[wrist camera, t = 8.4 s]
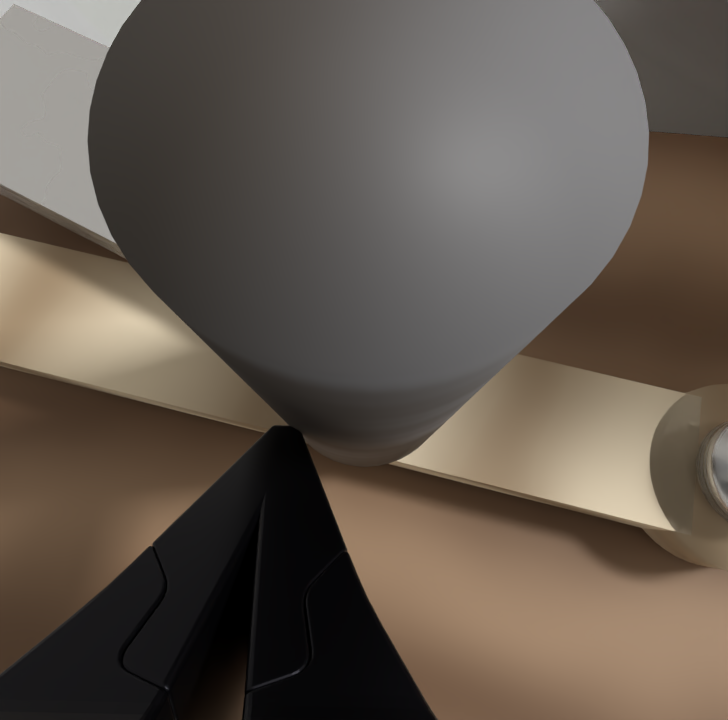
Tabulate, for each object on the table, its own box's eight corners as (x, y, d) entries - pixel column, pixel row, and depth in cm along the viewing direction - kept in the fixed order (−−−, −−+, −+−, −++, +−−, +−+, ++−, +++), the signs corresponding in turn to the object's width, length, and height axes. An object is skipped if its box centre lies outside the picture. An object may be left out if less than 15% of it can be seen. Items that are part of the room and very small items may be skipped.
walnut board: (855, 990, 13) (896, 1031, 12) (-239, 859, 13) (-286, 887, 12) (752, 159, 19) (773, 140, 18) (14, 100, 20) (-4, 79, 19)
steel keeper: (768, 425, 15) (887, 403, 12) (717, 584, 14) (832, 612, 11) (55, 85, 19) (-16, -10, 15) (-34, 191, 17) (-134, 115, 14)
